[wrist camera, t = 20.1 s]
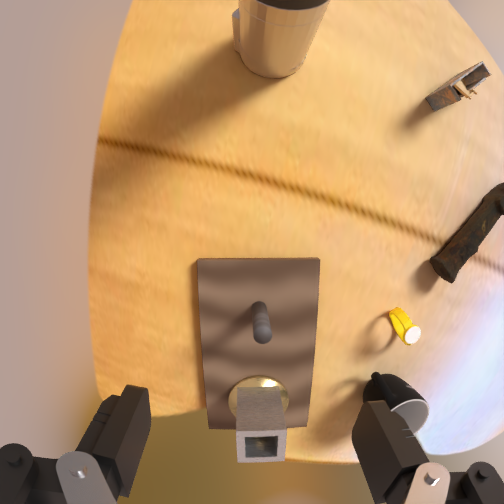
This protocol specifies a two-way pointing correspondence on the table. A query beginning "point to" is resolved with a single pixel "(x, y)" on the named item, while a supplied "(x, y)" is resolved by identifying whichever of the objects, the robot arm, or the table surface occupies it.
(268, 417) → the open-top grey box
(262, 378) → the disc
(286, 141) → the table surface
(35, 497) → the robot arm
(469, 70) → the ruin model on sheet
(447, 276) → the hand tool
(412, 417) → the mug
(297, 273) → the walnut stand board
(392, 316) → the watch
